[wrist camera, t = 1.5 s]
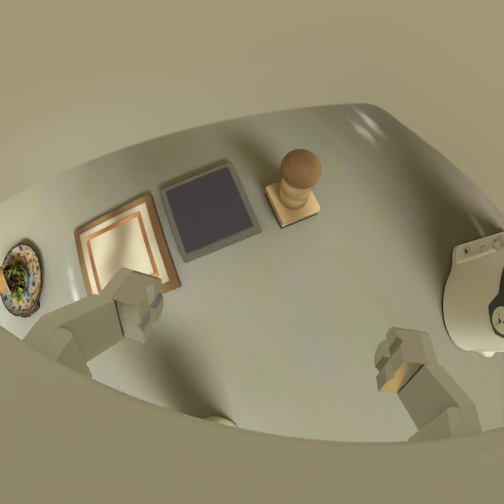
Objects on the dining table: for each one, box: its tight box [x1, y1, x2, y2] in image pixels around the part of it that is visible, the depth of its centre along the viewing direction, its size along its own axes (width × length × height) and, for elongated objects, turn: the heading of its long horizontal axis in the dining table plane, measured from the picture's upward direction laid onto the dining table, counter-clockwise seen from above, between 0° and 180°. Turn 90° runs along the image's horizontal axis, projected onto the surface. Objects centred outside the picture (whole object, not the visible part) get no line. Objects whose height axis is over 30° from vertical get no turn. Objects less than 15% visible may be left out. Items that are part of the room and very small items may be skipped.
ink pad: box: [160, 162, 261, 263], centre depth 36 cm, size 10×10×2 cm
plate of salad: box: [0, 243, 41, 317], centre depth 32 cm, size 12×12×8 cm
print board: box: [74, 194, 182, 296], centre depth 35 cm, size 13×13×1 cm
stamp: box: [265, 149, 321, 229], centre depth 31 cm, size 5×5×12 cm
